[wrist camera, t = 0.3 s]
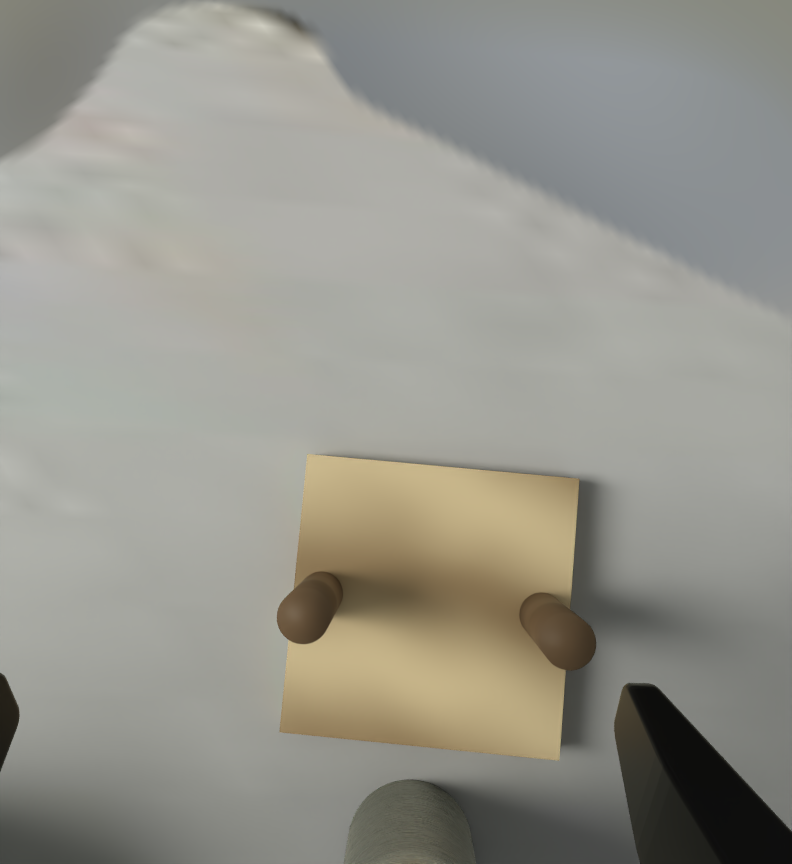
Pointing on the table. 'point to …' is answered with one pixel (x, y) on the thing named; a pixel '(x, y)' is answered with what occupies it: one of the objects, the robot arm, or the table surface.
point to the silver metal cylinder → (409, 827)
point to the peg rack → (433, 607)
